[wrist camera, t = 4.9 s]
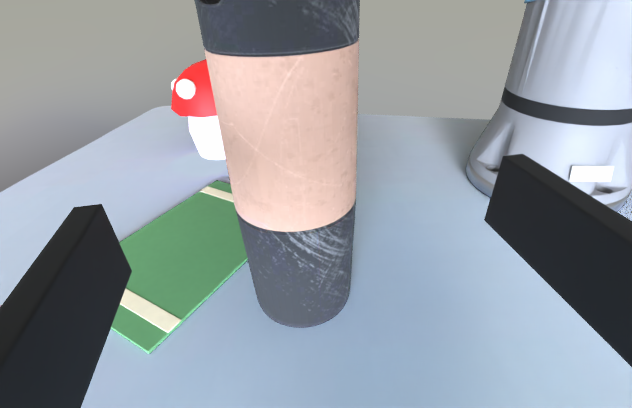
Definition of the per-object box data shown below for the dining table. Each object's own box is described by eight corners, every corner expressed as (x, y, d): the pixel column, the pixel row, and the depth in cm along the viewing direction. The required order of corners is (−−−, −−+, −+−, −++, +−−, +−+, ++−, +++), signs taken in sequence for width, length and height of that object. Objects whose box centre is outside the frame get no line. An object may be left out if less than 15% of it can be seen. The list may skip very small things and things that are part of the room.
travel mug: (349, 254, 30) (353, -23, 19) (358, 330, 23) (373, -21, 12) (260, 257, 30) (214, -16, 19) (246, 333, 24) (162, -11, 12)
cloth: (217, 182, 41) (216, 179, 41) (302, 207, 36) (302, 204, 36) (51, 289, 28) (49, 286, 28) (149, 354, 23) (148, 351, 22)
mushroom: (172, 168, 45) (143, 71, 38) (196, 135, 54) (176, 52, 47) (254, 165, 45) (239, 67, 38) (264, 132, 54) (254, 49, 47)
